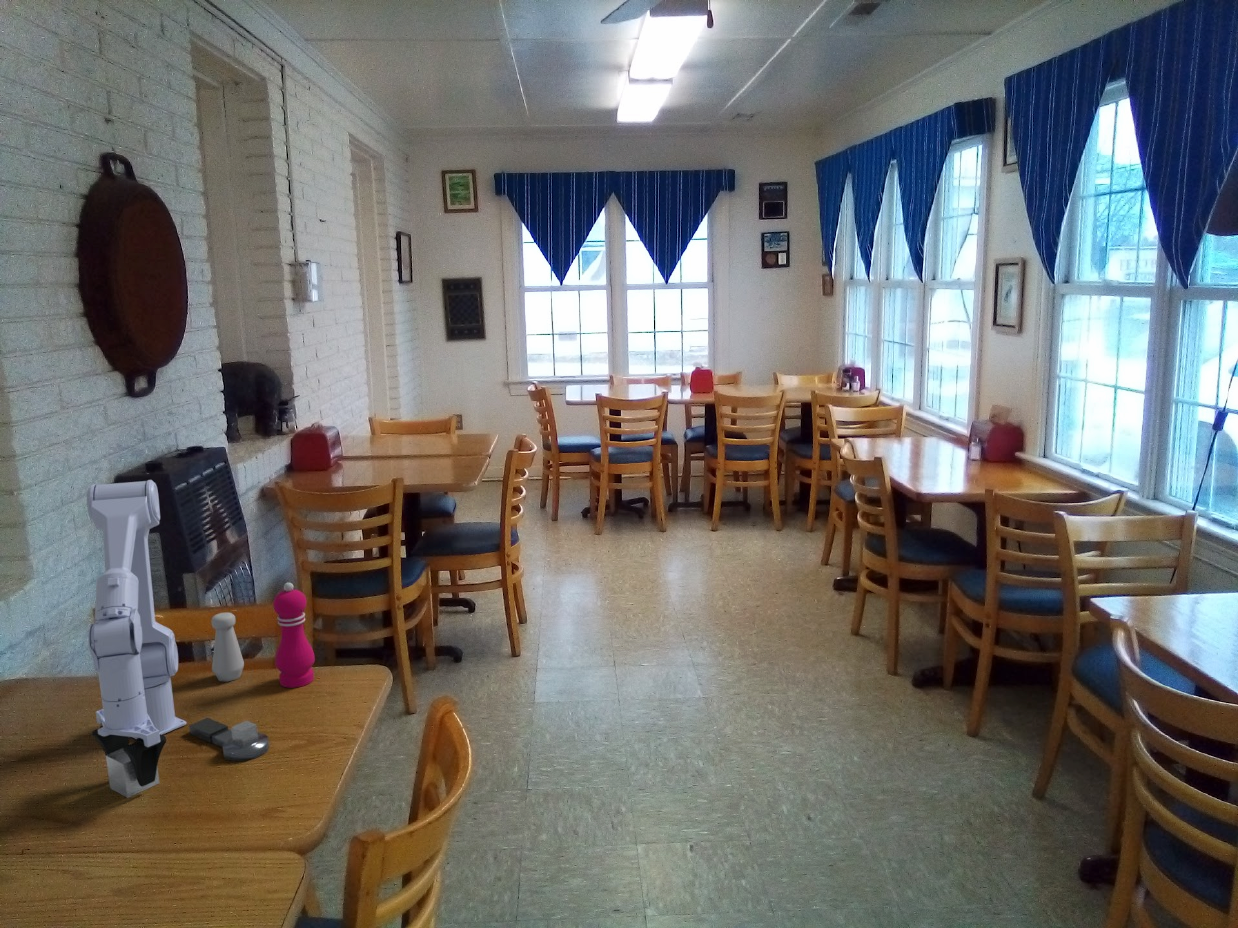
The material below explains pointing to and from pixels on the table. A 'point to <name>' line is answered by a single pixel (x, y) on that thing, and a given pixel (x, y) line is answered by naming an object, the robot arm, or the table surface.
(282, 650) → the pepper mill
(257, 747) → the ratchet
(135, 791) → the metal cube
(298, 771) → the table surface
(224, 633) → the salt shaker
